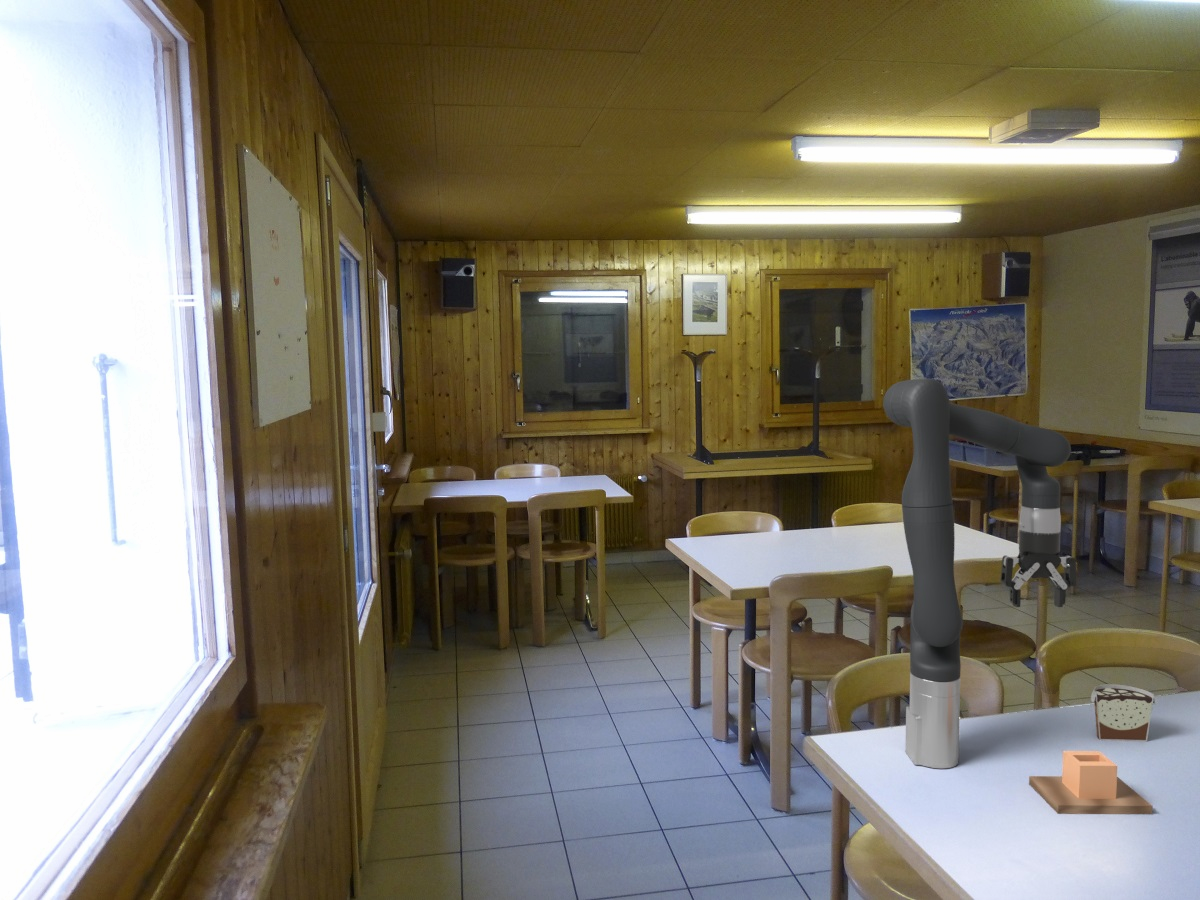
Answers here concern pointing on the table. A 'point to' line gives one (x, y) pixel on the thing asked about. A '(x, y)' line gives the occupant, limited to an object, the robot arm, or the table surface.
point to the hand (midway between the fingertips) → (1037, 606)
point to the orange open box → (1089, 774)
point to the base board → (1071, 804)
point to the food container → (1122, 712)
